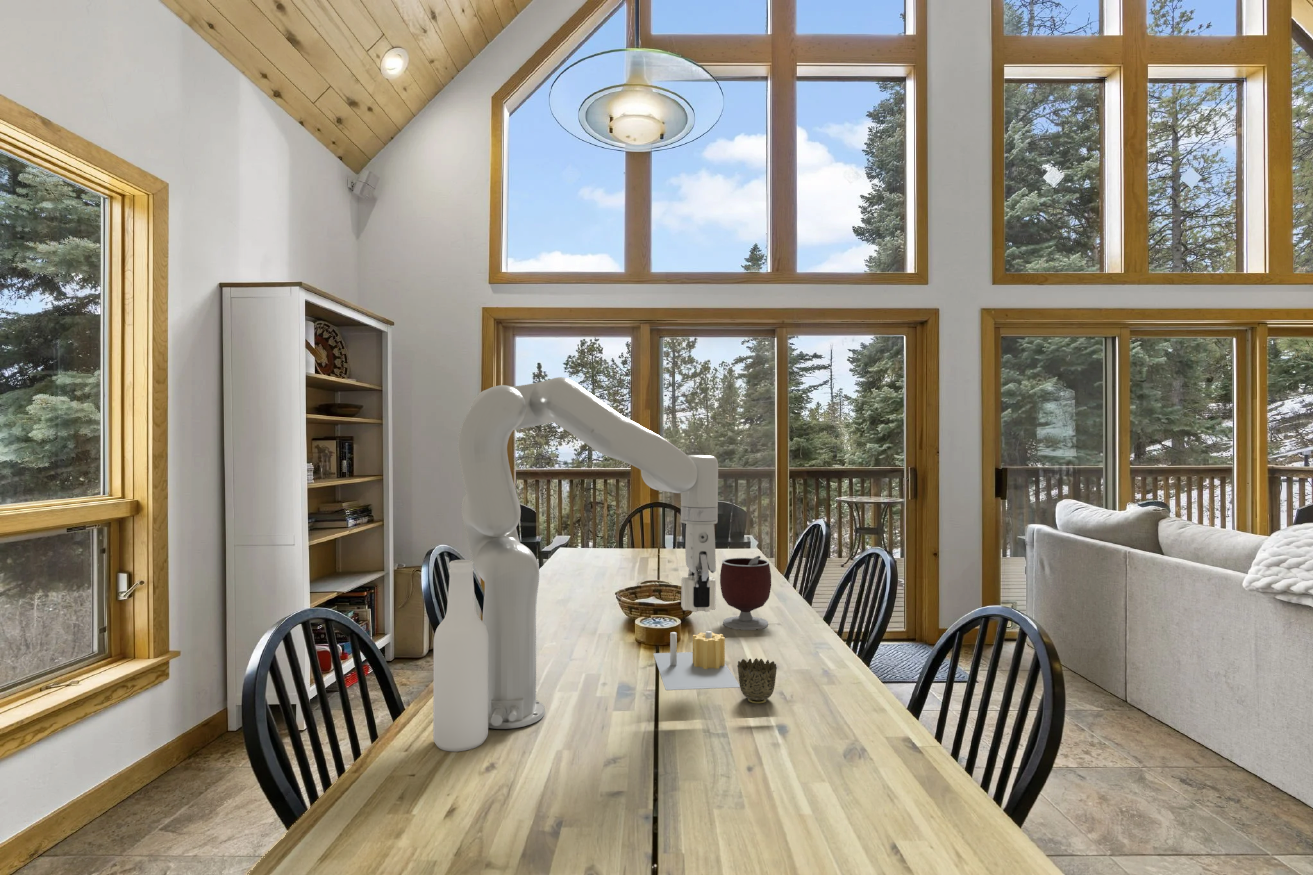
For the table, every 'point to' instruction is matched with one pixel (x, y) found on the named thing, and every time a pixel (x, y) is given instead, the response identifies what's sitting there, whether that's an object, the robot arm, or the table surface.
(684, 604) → the cream gear
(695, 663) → the ochre gear
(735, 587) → the mate gourd
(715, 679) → the gear board
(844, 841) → the table surface
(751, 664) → the cup
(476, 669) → the alcohol
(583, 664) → the table surface
